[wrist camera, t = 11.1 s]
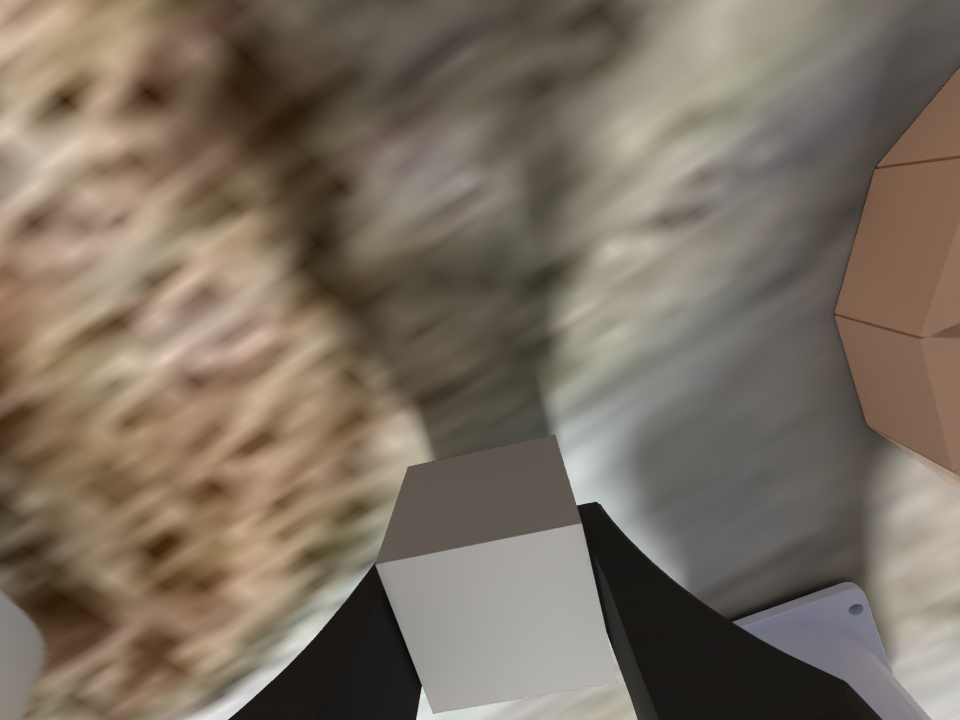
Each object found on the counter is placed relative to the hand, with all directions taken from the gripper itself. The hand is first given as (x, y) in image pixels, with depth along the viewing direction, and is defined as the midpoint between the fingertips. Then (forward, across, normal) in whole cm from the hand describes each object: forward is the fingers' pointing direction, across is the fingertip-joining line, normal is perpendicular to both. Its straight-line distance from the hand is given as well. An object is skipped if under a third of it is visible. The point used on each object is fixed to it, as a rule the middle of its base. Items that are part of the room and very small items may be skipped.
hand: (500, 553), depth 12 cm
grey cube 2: (+2, 0, 0) cm, 2 cm away
